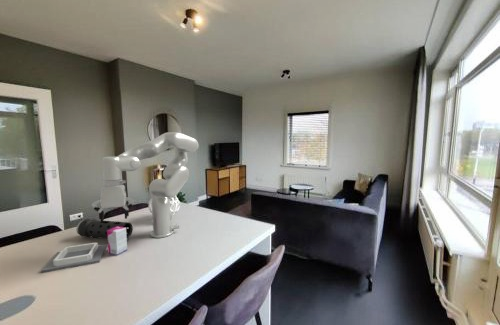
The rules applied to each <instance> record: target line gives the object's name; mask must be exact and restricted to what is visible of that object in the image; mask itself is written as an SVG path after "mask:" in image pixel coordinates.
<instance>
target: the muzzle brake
mask: <svg viewBox="0 0 500 325" xmlns="http://www.w3.org/2000/svg"><path fill="white" fill-rule="evenodd" d="M117 226H118V227H125V228H126V236H127V241H128V239H129V238H131V236H132V234H133V228H134V227H133V223H132V222H129V221H128V222H126V221H117V220H115V221H113V220H105V219H104V220H103V221H101V219H95V218H86V219H82V220H80V221H79V222H78V224H77V225H76V227H75V228H76V233H77V234H78V235H79V236H81V237H83V238H92V239H96V240H97V239H106V240H108V236H107V230H110V229H112V228H115V227H117Z"/></svg>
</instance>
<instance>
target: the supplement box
mask: <svg viewBox="0 0 500 325" xmlns="http://www.w3.org/2000/svg"><path fill="white" fill-rule="evenodd" d="M126 234H127V233H126V228H125V227H118V226H117V227H115V228H112V229H110V230H107V236H108V239H107V250H108V251H107V254H109V255H113V256H119V255H121V254H122V253H124V252H127V251H128V240H127V236H126Z"/></svg>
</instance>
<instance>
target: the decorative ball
mask: <svg viewBox="0 0 500 325" xmlns="http://www.w3.org/2000/svg"><path fill="white" fill-rule="evenodd" d="M169 200H170V215H171V218H172V217H173V216H174V215H175V214H176V213H177V212H178V211H179V209H180V207H181V201H180V200H179V198H178V197H177V195H176V196H174V197H172V198H169ZM147 207H148V209H149V212H150V213H151V214H152V200H151V198H150V199H149V201H148V206H147Z"/></svg>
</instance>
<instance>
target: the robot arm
mask: <svg viewBox="0 0 500 325" xmlns="http://www.w3.org/2000/svg"><path fill="white" fill-rule="evenodd" d="M199 147H200V146H199V142H198V140H197V139H196V138H194V137H191V136H189V135H186V134H184V133H181V132H176V131H171V132H170V131H169V132H164V133H162V134H160V135H159V136H157V137H155V138H153V139H151V140H150V141H147V142H145V143H142V144H139V145H138V146H135V147H132V148H129V149H128V150H126V151H124V152H122V153H121V154H119V155H117V156H104V157H103V158H102V159H101V166H102V167H101V169H102V170H101V171H102V186H101V189H100V199H98V200H96V201H93V202H91V207H92V208H93V210H94V211H95V212H97V213H98V217H99V219H98V220H101V221H103V220H104V221H105V212H104V210H105V209H113V208H114V209H115V208H116V209H117V208H123V209H124V219H128V217H129V215H130V213H129V212H130V211H129V210H130V209H131V208H132V207H133V205H134V203H135V199H133V198H131V197H128V196H127V192H126V186H125V185H124V184H126V183H127V182H126V179H123V172H135V171H137V170H138V169H139V168H140V167H141V163H142V162H141V160H147V159H151V158H155V157H157V156H159V155H161V154H162V153H164V152H165V151H167V150H168V149H171V148H173V149H174V157H173V158H172V160H171V161H170V162H169V163H168V165H167V166H165V168H164V169H163V172H162V176H163V178H155V179H153V180H152V181H150V184H149V187H148V189H149V191H148V192H149V195H150V199H151V200H152V213H151V215H152V229H153V230H152V231H151V232H149V233H150V234H149V235H150V237H152V238H156V239H158V238H159V239H161V238H166V237H169V236H171V235H173V234H174V233H175V230H179V229H180V225H177V224H178V223H177V224H172V221H171V220H172V219H171V218H172V217H171V215H170V213H171V212H170V204H171V203H170V200H169V199H170V198H172V197H174V196H177V195H178V193H180V191H181V190H182V188H183V187H184V185H185V184H186V182H187V181H188V180H189V176H190V171H189V168H188V167H187V164H188V161H189V159H188V153H195V152H197V151H198V150H199ZM174 198H175V197H174ZM127 202H130V203H129V204H127ZM98 204H100V207H99V206H97V205H98Z"/></svg>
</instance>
